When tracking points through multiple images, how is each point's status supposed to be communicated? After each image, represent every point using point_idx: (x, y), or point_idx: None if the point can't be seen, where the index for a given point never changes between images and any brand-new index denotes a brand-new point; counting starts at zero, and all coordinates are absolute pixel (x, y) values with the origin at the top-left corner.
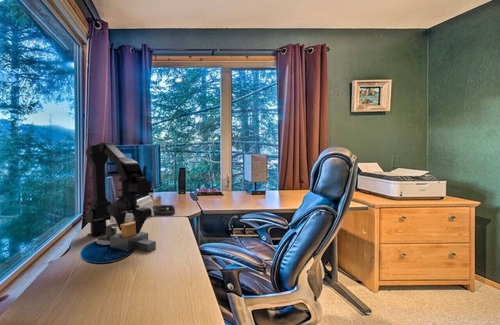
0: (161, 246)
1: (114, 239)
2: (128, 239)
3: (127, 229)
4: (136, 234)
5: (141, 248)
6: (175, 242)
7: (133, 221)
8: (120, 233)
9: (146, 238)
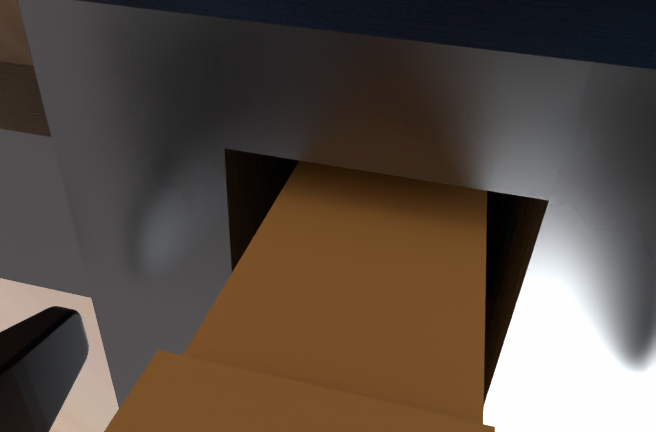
0: None
1: (596, 40)
2: (37, 25)
3: (194, 353)
4: None
5: (15, 80)
6: None
7: None
8: (646, 367)
9: None
